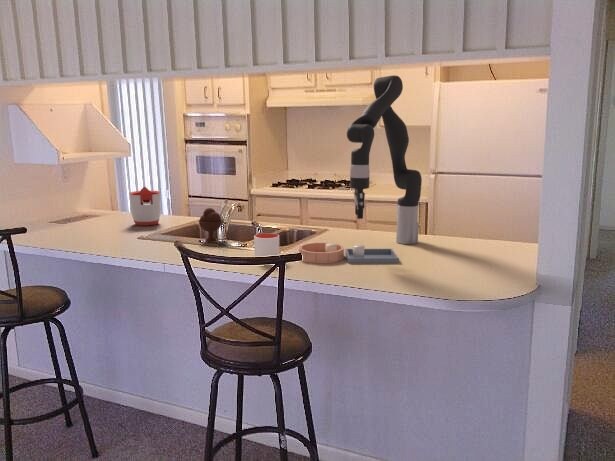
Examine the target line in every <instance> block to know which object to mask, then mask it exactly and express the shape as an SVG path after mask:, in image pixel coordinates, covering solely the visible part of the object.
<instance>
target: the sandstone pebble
mask: <svg viewBox="0 0 615 461" xmlns="http://www.w3.org/2000/svg"><path fill="white" fill-rule="evenodd" d="M337 244H338V243H334V242H327V244H325V252H333V251H337Z"/></svg>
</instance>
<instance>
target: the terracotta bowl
mask: <svg viewBox="0 0 615 461" xmlns="http://www.w3.org/2000/svg"><path fill="white" fill-rule="evenodd" d="M327 243H328V242H325V241H324V242H322V241H320V242H315V241H314V242H308V243H304V244H302V245H299V246H298V254H299V253H301V254H302V255H303V261H304V262H303V261H302V262H303V263H305V262H308V263H307V264H310V263H315V264H329V263H336V262H340V261H342V260H343V259H344V258H345V256H344V254H345V247H344V245H342V244H339V243H336V244H337V251H333V252H325V244H327Z"/></svg>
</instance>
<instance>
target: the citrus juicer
mask: <svg viewBox="0 0 615 461" xmlns="http://www.w3.org/2000/svg"><path fill="white" fill-rule="evenodd" d="M129 199H130V212H131V217H132V220H133V222H134V224H135V225H136V226H139V227H143V226H156V225H157V224H158V223H159V221H160V217H161V192H160V191H159V190H150V189H148V187H146V186H143V187H142V188H141V189H140V190H136V191H131V192H129Z"/></svg>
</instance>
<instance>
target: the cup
mask: <svg viewBox="0 0 615 461" xmlns="http://www.w3.org/2000/svg"><path fill="white" fill-rule="evenodd" d="M253 240H254V241H253V242H254V245H253V247H254V249H253V250H254V251H253V252H254V257H255V256H266V255H278V254H279V255H280V234H277V233H273V232H272V233H271V232H267V233H266V232H263V233H257V234H255V235H254V236H253Z"/></svg>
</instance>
